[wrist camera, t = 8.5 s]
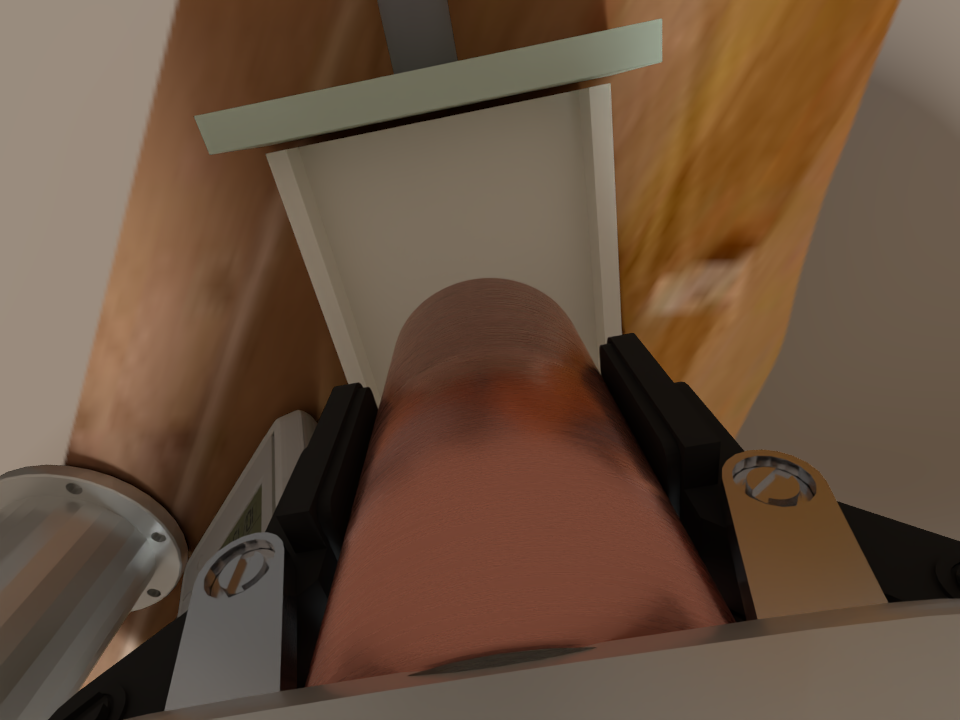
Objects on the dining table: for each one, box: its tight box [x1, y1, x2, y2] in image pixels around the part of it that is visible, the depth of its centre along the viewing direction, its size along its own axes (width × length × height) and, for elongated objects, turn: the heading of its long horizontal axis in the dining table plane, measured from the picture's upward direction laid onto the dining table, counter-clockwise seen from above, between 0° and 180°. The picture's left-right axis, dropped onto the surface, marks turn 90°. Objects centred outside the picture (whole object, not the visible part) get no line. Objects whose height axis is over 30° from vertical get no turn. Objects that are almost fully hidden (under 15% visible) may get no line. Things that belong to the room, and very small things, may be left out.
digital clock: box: [178, 410, 317, 617], centre depth 26 cm, size 16×9×11 cm, turn 133°
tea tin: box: [305, 278, 736, 687], centre depth 9 cm, size 5×5×10 cm
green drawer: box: [194, 0, 662, 409], centre depth 20 cm, size 16×23×5 cm
